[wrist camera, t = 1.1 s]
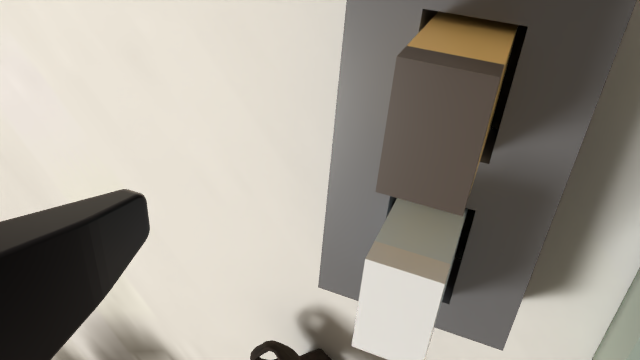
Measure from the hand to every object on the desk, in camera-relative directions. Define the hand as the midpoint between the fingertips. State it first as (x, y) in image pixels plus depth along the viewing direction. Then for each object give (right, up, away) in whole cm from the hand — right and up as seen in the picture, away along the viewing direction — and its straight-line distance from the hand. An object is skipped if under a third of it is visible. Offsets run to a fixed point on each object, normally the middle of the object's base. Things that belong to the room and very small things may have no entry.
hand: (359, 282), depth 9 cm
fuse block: (+5, +3, +12) cm, 13 cm away
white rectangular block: (+4, +1, +14) cm, 14 cm away
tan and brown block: (+5, +6, +10) cm, 13 cm away
